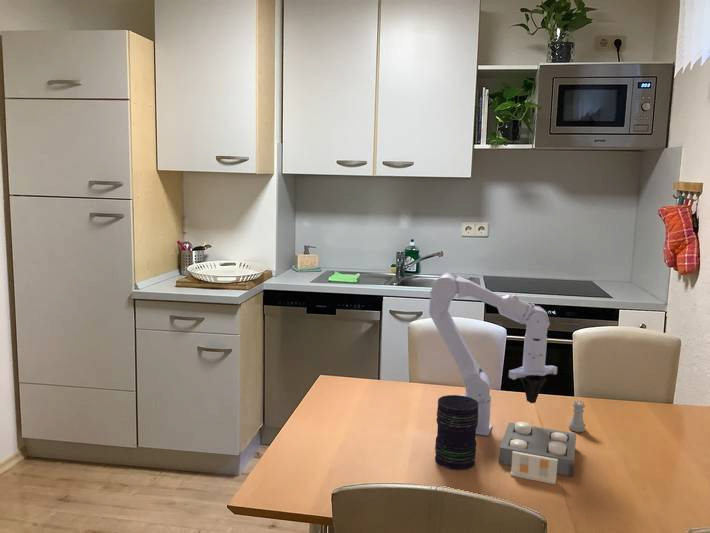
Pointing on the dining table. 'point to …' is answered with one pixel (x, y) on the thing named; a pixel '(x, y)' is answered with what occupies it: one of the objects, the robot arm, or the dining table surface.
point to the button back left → (523, 428)
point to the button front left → (518, 443)
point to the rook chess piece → (577, 417)
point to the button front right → (557, 448)
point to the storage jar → (456, 432)
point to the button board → (539, 447)
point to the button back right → (559, 436)
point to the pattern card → (534, 467)
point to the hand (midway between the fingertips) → (531, 401)
